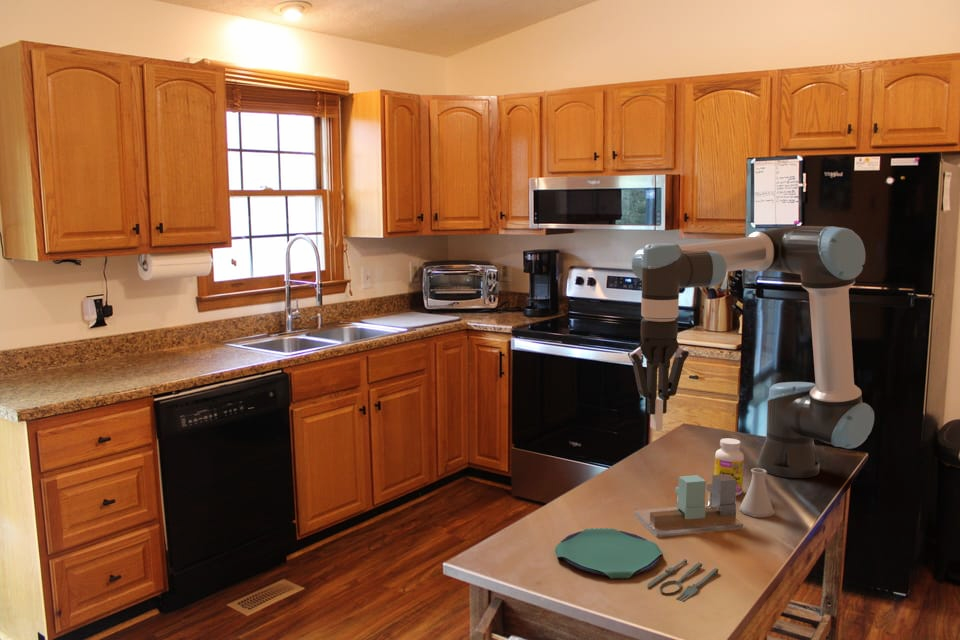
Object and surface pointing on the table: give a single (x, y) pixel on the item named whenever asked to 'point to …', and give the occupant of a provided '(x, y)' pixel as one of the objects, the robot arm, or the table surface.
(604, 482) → the table surface
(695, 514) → the block
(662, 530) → the base
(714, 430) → the table surface
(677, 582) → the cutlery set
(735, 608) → the table surface
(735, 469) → the supplement bottle
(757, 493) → the flask
